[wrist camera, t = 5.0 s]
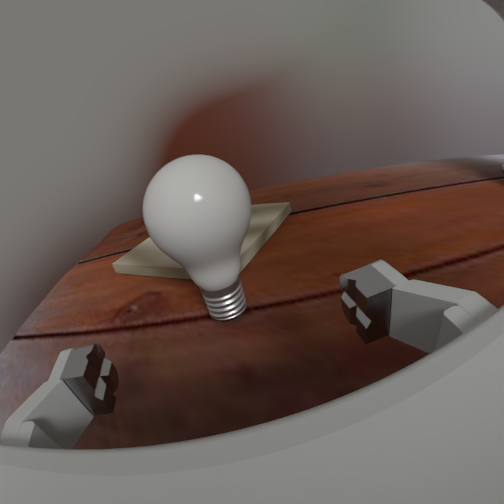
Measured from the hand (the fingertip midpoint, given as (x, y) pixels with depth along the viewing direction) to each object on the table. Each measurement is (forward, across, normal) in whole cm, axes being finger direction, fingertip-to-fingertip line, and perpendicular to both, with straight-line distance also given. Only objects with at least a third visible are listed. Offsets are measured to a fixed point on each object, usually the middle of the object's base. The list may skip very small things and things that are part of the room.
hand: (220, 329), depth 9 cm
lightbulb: (+10, 0, +7) cm, 12 cm away
